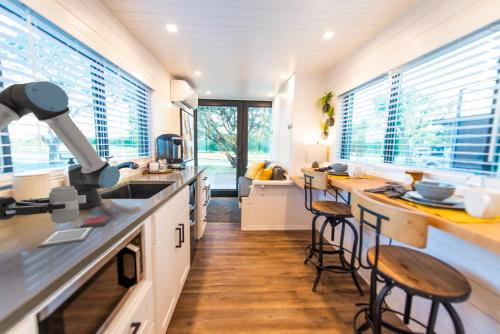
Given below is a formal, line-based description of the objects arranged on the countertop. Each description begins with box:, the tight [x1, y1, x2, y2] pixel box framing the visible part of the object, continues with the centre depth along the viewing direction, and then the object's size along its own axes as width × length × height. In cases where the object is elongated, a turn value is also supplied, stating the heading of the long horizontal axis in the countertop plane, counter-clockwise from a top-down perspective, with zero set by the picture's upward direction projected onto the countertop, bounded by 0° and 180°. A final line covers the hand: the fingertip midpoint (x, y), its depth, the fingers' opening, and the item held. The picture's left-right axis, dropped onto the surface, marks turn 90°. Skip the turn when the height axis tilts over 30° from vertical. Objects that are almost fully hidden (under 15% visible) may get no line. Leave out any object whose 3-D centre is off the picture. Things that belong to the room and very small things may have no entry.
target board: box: [38, 227, 95, 248], centre depth 77 cm, size 12×12×1 cm
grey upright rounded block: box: [48, 185, 80, 224], centre depth 75 cm, size 8×8×12 cm
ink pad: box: [79, 215, 110, 229], centre depth 90 cm, size 9×8×2 cm
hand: (81, 201), depth 77 cm, fingers closed on grey upright rounded block, 7 cm apart
